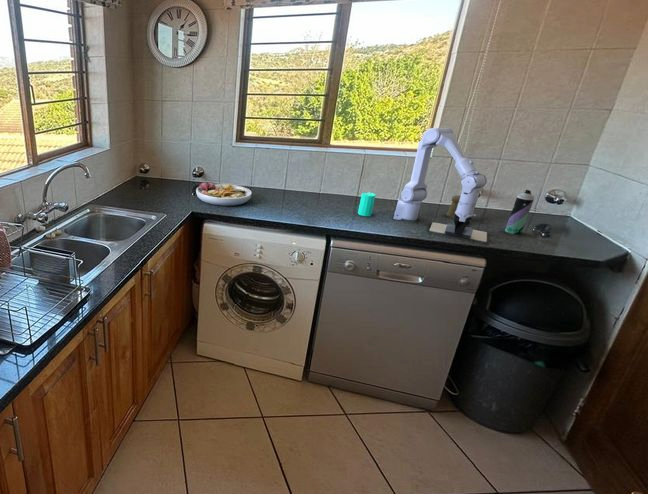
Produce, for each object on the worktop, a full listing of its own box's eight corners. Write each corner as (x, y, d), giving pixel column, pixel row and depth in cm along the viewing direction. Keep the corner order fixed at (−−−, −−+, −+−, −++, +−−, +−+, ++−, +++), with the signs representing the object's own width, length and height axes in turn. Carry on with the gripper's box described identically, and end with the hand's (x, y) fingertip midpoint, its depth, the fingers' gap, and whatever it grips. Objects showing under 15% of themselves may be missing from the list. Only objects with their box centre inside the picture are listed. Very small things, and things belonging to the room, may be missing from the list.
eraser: (470, 235, 171) (473, 228, 170) (470, 238, 168) (472, 230, 167) (445, 230, 177) (447, 223, 175) (444, 233, 173) (446, 226, 172)
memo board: (428, 232, 178) (429, 230, 177) (432, 224, 188) (432, 222, 188) (485, 244, 166) (486, 241, 166) (486, 234, 176) (486, 232, 176)
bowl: (257, 196, 227) (259, 183, 224) (240, 211, 203) (241, 196, 200) (208, 189, 242) (209, 176, 239) (186, 201, 218) (187, 187, 215)
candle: (370, 213, 202) (375, 190, 197) (371, 216, 197) (376, 193, 192) (357, 211, 204) (362, 188, 200) (357, 215, 199) (362, 191, 195)
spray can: (500, 231, 179) (516, 188, 172) (512, 231, 180) (528, 188, 172) (512, 236, 174) (528, 192, 167) (523, 236, 175) (540, 191, 167)
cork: (463, 219, 194) (469, 198, 190) (449, 219, 195) (455, 197, 191) (456, 215, 199) (463, 194, 195) (443, 215, 200) (449, 193, 196)
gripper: (479, 208, 159) (468, 240, 164) (479, 200, 170) (470, 230, 175) (457, 205, 164) (447, 236, 169) (459, 197, 174) (450, 226, 179)
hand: (457, 233), depth 172 cm, fingers closed on eraser, 4 cm apart
